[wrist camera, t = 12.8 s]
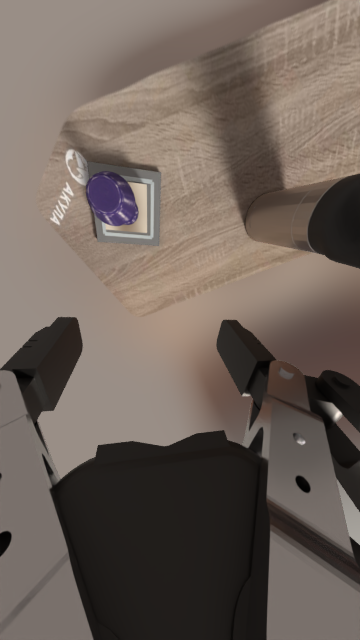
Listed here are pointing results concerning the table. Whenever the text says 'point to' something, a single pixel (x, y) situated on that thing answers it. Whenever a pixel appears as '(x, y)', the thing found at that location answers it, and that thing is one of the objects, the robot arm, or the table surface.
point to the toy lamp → (111, 199)
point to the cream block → (141, 202)
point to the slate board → (152, 206)
